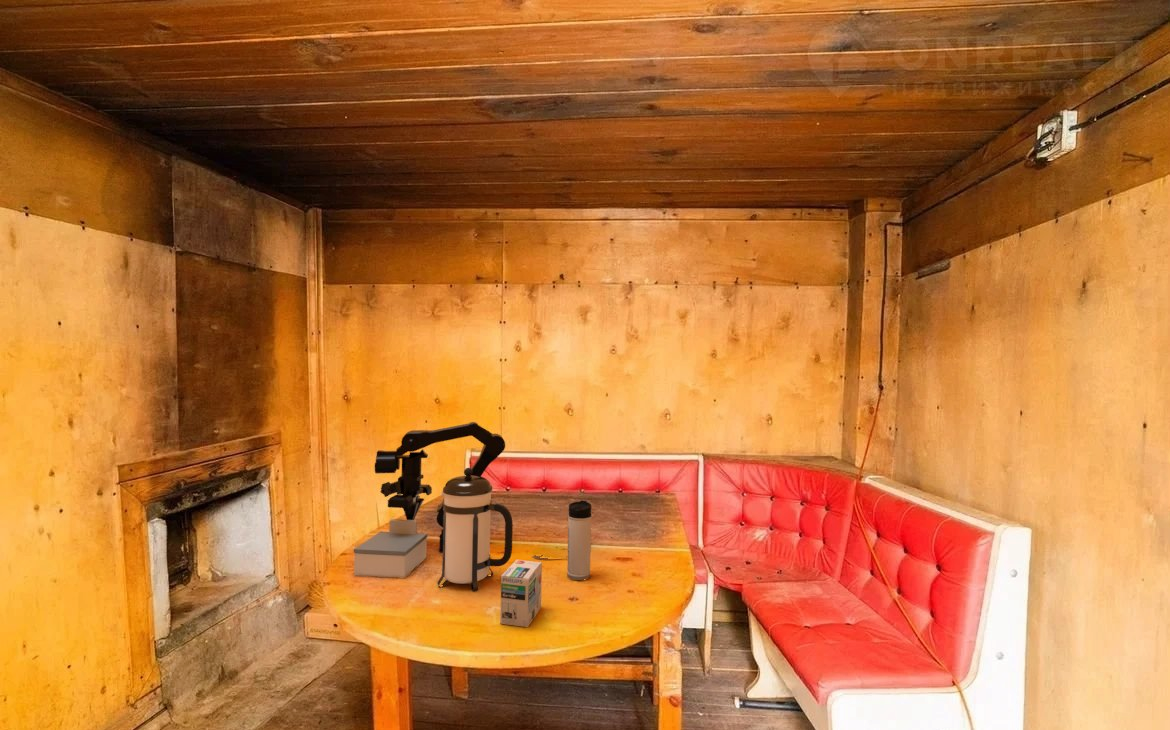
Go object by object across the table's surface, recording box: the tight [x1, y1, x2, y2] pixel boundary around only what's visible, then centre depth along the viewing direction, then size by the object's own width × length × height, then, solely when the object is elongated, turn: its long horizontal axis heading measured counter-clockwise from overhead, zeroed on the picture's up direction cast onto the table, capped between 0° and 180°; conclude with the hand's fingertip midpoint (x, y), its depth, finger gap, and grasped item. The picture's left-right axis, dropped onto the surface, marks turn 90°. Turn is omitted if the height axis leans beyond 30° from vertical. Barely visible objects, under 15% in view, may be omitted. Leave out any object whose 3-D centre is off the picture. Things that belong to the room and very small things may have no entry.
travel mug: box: [566, 499, 592, 581], centre depth 143 cm, size 6×7×20 cm
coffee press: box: [436, 467, 514, 592], centre depth 138 cm, size 17×16×30 cm
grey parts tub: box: [353, 537, 428, 579], centre depth 147 cm, size 14×15×6 cm
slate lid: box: [353, 518, 428, 555], centre depth 147 cm, size 14×15×5 cm
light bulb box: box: [500, 559, 543, 628], centre depth 120 cm, size 11×7×11 cm, turn 168°
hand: (410, 523), depth 159 cm, fingers closed
